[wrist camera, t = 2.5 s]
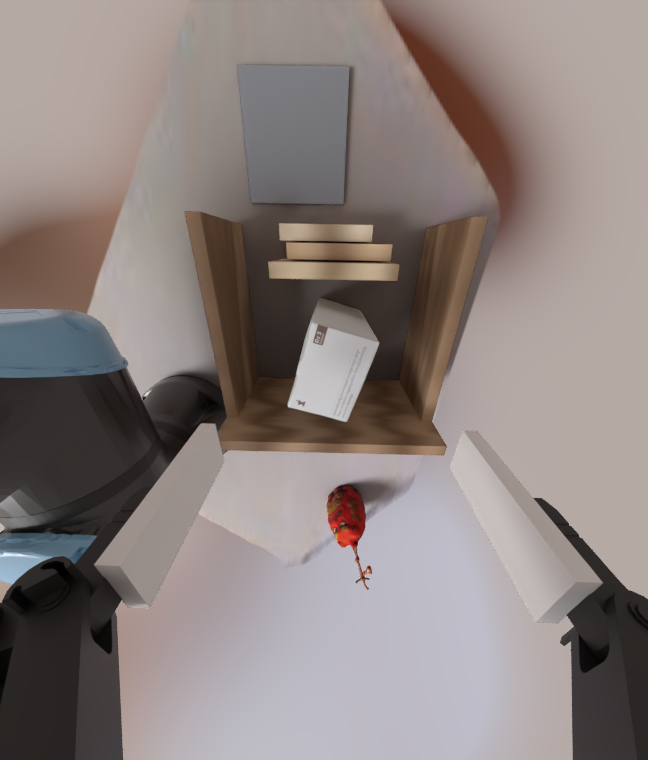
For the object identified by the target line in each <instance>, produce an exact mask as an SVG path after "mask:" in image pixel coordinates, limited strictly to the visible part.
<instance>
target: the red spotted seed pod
mask: <svg viewBox="0 0 648 760" xmlns="http://www.w3.org/2000/svg"><path fill="white" fill-rule="evenodd" d="M327 512H328V523H329V524H330V527H331V530H332V531H333V533H334V535H335V539H336V540H338V544H339V545H340V546H341V547H346V546H347V545H349V544H350V545H351V546H352V548H353V550H354V553H355V555H356V560H355V562H356V563H358V567H359V571H360V575H361V578H360V579H359V580H357V581H356V583H357V582H358V581H360V580H362V581H363V583H364V586H365V588H366V590H368V589H369V588H368V587H367V586H366V584H365V579H367V580H369V578H365V577H364V575H365V574H368V573H369V574H372V570H371V567H370V566H368V567H367V569H366V571H364V572H363V573H362V570H361V567H360V563H359V557H358V555H357V545H358V541H359V539H360V538H361V536H362V534H363V532H364V530H365V519H366V514H365V507H364V504H363V500H362V497H361V495H360V494H359V492H358V491H357V490H356V489H353V488H352V487H350V486H347V485H345V486H343V487H339V488H336V489H335V490H334V492H333V493H332V494H330V495H329V496H328V502H327Z"/></svg>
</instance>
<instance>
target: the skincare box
mask: <svg viewBox="0 0 648 760" xmlns="http://www.w3.org/2000/svg"><path fill="white" fill-rule="evenodd" d="M378 346H379V341H378V340H377V338H376V336H375V334H374V333H373V331H372V329H371V328H370V326H369V324H368V322H367V321H366V319H365V317H364V316H363V314H362V312H361V311H360V310H358V309H355V308H352V307H348V306H345V305H342V304H339V303H336V302H333V301H330V300H326V299H323V298H319V300H318V302H317V305H316V307H315V310H314V313H313V316H312V318H311V321H310V324H309V327H308V330H307V333H306V337H305V340H304V344H303V348H302V352H301V356H300V360H299V364H298V367H297V373H296V377H295V381H294V384H293V388H292V391H291V394H290V397H289V401H288V407H289V408H294V409H298V410H302V411H306V412H310V413H314V414H318V415H322V416H326V417H329V418H333V419H336V420H340V421H344V422H347V421H348V418H349V416H350V414H351V411H352V409H353V407H354V405H355V402H356V400H357V398H358V395H359V393H360V391H361V388H362V386H363V383H364V381H365V378H366V376H367V374H368V371H369V369H370V366H371V364H372V361H373V359H374V356H375V354H376V351H377V349H378Z"/></svg>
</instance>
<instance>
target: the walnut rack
mask: <svg viewBox="0 0 648 760" xmlns="http://www.w3.org/2000/svg"><path fill="white" fill-rule="evenodd" d="M184 212H185V217H186V222H187V227H188V231H189V236H190V241H191V246H192V251H193V255H194V260H195V265H196V270H197V275H198V280H199V284H200V289H201V294H202V299H203V304H204V308H205V313H206V318H207V323H208V328H209V332H210V337H211V342H212V347H213V352H214V357H215V361H216V366H217V371H218V376H219V381H220V385H221V390H222V395H223V400H224V405H225V409H226V414H227V418H226V419H225V421H224V423H223V424H222V426H221V427H220V429H219V431H218V432H217V433H218V438H219V442H220V446H221V450H242V451H283V452H324V453H365V454H406V455H444V454H445V451H446V448H447V446H446V444H445V443H444V441H443V439H442V438H441V436H440V434H439V433H438V431H437V429H436V428H435V426H434V424H433V423H432V419H433V415H434V412H435V408H436V405H437V401H438V397H439V394H440V390H441V387H442V383H443V379H444V376H445V372H446V368H447V365H448V361H449V358H450V354H451V350H452V347H453V343H454V339H455V336H456V332H457V329H458V325H459V321H460V318H461V314H462V311H463V307H464V303H465V300H466V296H467V292H468V289H469V285H470V282H471V278H472V274H473V271H474V267H475V264H476V260H477V256H478V253H479V249H480V245H481V242H482V238H483V235H484V231H485V227H486V224H487V220H488V217H479V216H472V217H468V218H464V219H460V220H456V221H452V222H448V223H444V224H440V225H436V226H432V227H428V228H426V232H425V238H424V244H423V249H422V255H421V260H420V266H419V271H418V277H417V282H416V288H415V293H414V299H413V305H412V310H411V316H410V321H409V327H408V332H407V338H406V343H405V349H404V354H403V360H402V365H401V371H400V377H399V380H365V381H364V383H363V386H362V388H361V391H360V393H359V395H358V398H357V400H356V402H355V405H354V407H353V409H352V411H351V414H350V416H349V418H348V421H347V422H344V421H340V420H336V419H333V418H329V417H326V416H322V415H318V414H314V413H310V412H306V411H302V410H298V409H294V408H289V407H288V401H289V397H290V394H291V391H292V388H293V384H294V381H295V378H266V377H259V369H258V361H257V353H256V345H255V336H254V328H253V320H252V311H251V303H250V295H249V286H248V278H247V270H246V261H245V253H244V245H243V237H242V228H241V225H240V224H237V223H234V222H231V221H228V220H225V219H221V218H218V217H215V216H212V215H209V214H206V213H202V212H191V211H184Z"/></svg>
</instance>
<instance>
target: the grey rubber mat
mask: <svg viewBox="0 0 648 760" xmlns="http://www.w3.org/2000/svg"><path fill="white" fill-rule="evenodd" d="M237 71H238V81H239V91H240V100H241V110H242V120H243V130H244V140H245V150H246V160H247V170H248V180H249V190H250V199H251V203H259V204H317V205H343V203H344V180H345V157H346V134H347V112H348V89H349V66H296V65H237Z"/></svg>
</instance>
